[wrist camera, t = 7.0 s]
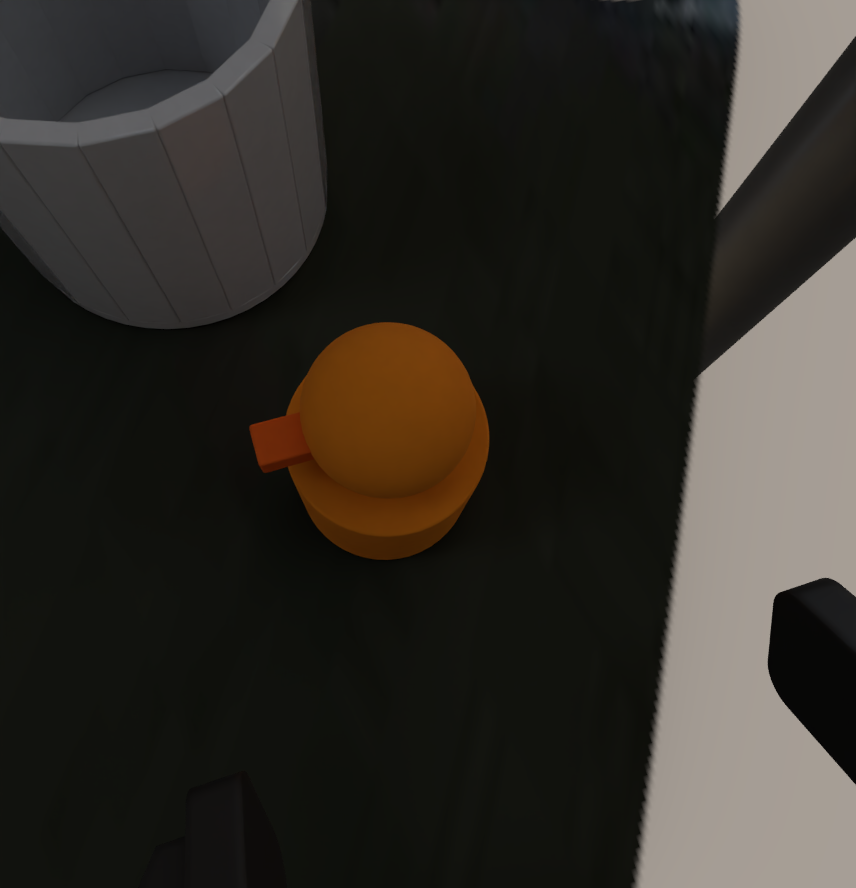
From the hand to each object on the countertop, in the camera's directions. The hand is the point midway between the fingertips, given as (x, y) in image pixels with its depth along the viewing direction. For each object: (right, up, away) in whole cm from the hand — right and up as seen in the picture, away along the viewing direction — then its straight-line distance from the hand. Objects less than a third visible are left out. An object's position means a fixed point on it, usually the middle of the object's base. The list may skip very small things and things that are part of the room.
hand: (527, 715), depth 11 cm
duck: (-3, +3, +12) cm, 13 cm away
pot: (-10, +13, +14) cm, 22 cm away
